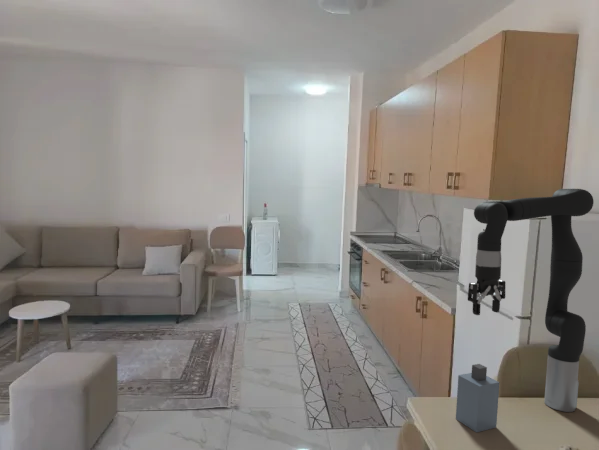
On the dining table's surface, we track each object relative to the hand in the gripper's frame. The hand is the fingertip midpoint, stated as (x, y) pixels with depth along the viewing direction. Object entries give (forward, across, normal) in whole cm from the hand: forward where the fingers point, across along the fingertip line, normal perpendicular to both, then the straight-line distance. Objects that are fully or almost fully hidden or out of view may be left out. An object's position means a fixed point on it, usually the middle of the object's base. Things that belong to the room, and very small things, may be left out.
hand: (486, 313), depth 138 cm
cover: (+34, +7, +4) cm, 34 cm away
